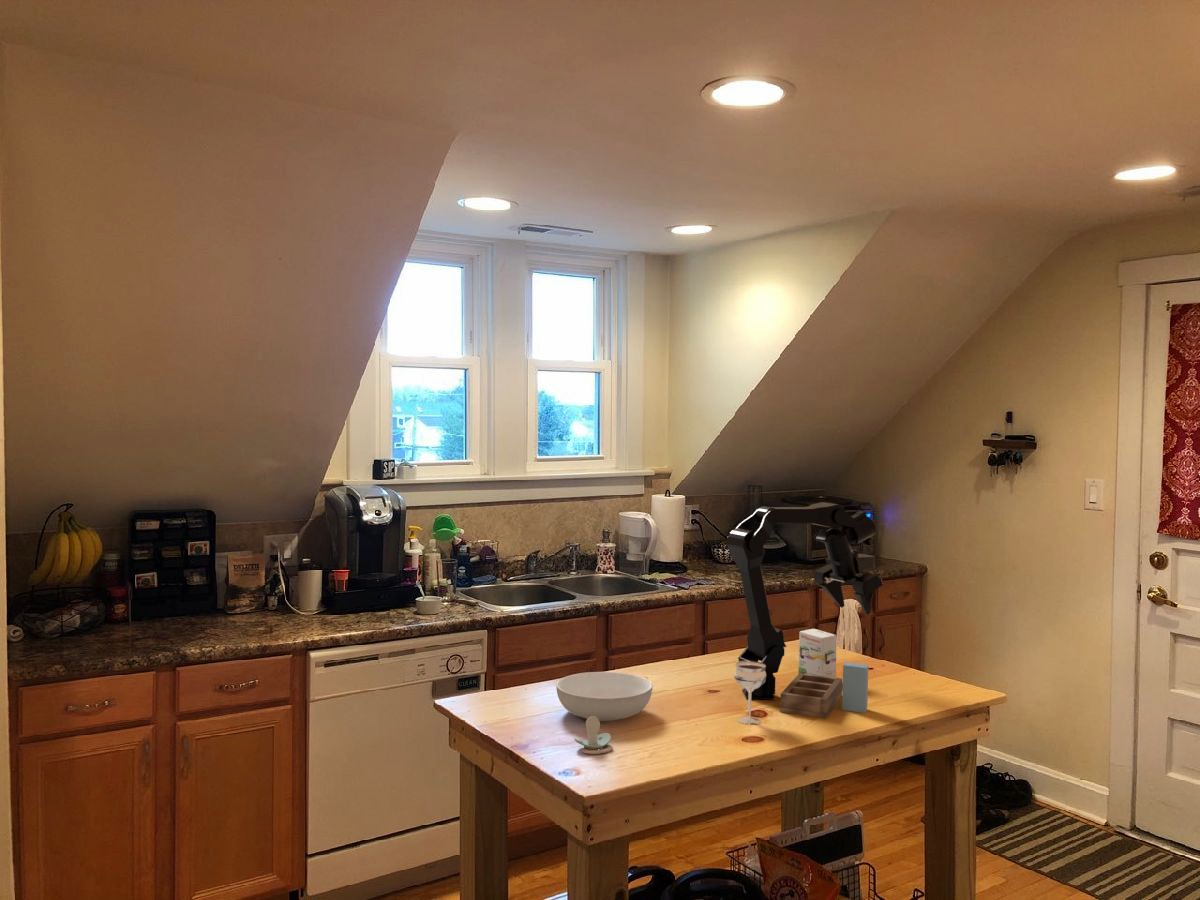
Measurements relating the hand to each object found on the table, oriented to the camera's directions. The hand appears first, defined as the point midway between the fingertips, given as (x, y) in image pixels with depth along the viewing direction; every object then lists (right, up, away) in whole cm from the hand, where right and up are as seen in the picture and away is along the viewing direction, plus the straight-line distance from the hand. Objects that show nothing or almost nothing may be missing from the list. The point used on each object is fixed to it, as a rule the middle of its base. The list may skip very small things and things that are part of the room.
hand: (855, 610), depth 228 cm
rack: (-15, -18, -17) cm, 29 cm away
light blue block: (-6, -18, -21) cm, 29 cm away
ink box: (-9, -18, +2) cm, 20 cm away
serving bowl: (-62, -18, -27) cm, 70 cm away
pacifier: (-64, -19, -48) cm, 82 cm away
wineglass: (-31, -19, -30) cm, 47 cm away
